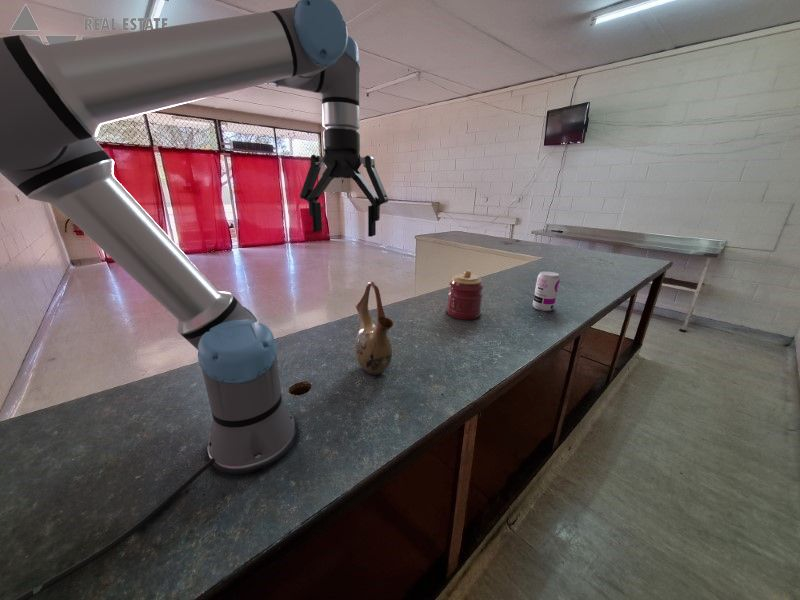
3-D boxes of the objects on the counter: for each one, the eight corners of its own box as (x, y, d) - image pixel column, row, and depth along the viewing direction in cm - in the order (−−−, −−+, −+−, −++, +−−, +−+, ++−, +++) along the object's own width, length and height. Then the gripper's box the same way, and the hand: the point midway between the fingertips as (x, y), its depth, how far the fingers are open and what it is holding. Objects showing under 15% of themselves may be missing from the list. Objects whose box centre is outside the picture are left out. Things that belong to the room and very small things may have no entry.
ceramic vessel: (403, 380, 81) (407, 288, 73) (372, 391, 77) (372, 294, 68) (373, 352, 94) (373, 271, 86) (345, 360, 90) (342, 276, 81)
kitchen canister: (487, 315, 123) (492, 272, 117) (463, 323, 116) (468, 277, 110) (463, 305, 133) (467, 264, 127) (439, 311, 126) (443, 268, 120)
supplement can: (554, 306, 134) (561, 272, 129) (551, 313, 127) (559, 277, 122) (534, 302, 138) (540, 269, 133) (530, 308, 132) (536, 273, 126)
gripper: (404, 132, 66) (400, 235, 73) (298, 133, 72) (305, 227, 79) (393, 126, 59) (391, 240, 66) (278, 127, 65) (287, 231, 72)
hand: (344, 233), depth 73 cm, fingers open, 13 cm apart
